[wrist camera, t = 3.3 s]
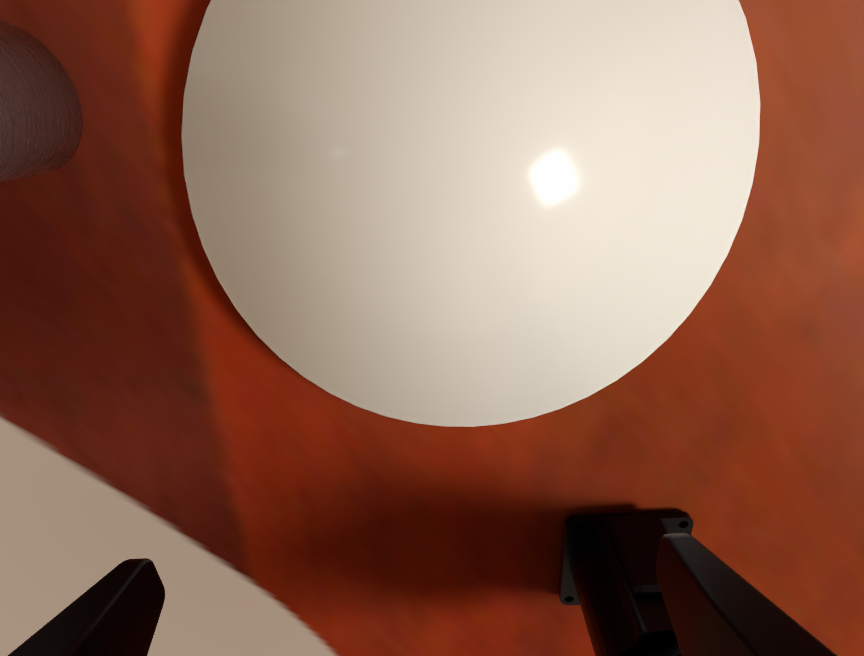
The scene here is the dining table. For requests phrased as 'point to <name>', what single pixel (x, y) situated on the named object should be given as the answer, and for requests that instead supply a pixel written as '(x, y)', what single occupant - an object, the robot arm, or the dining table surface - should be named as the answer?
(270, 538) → the dining table surface
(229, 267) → the plate
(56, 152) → the pepper mill
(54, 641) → the robot arm
